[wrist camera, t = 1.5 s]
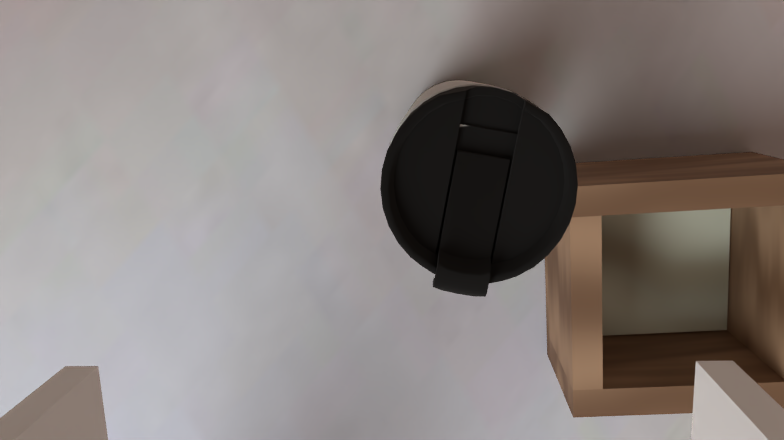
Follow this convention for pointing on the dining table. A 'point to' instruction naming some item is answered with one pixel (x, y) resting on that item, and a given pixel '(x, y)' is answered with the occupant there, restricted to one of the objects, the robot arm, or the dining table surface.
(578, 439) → the dining table surface
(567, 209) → the travel mug
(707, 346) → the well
